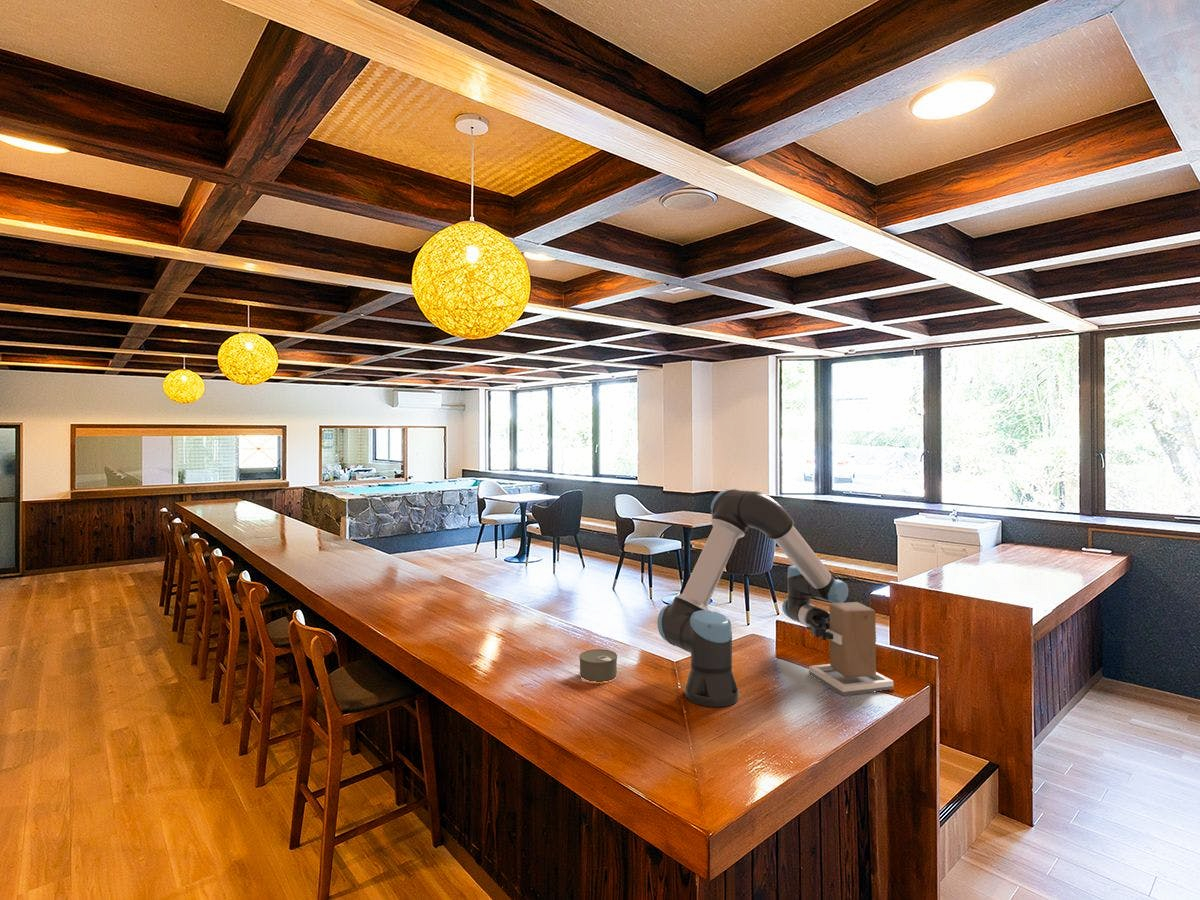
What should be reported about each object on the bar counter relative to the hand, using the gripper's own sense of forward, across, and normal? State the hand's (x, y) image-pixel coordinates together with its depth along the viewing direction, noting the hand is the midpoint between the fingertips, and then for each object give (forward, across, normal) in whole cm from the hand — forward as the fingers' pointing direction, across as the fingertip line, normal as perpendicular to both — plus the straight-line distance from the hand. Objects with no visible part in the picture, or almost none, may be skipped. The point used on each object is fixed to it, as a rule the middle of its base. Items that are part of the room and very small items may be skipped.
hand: (858, 638), depth 177 cm
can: (-28, +74, -15) cm, 80 cm away
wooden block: (-3, 0, -11) cm, 12 cm away
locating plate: (-4, 0, -14) cm, 15 cm away
